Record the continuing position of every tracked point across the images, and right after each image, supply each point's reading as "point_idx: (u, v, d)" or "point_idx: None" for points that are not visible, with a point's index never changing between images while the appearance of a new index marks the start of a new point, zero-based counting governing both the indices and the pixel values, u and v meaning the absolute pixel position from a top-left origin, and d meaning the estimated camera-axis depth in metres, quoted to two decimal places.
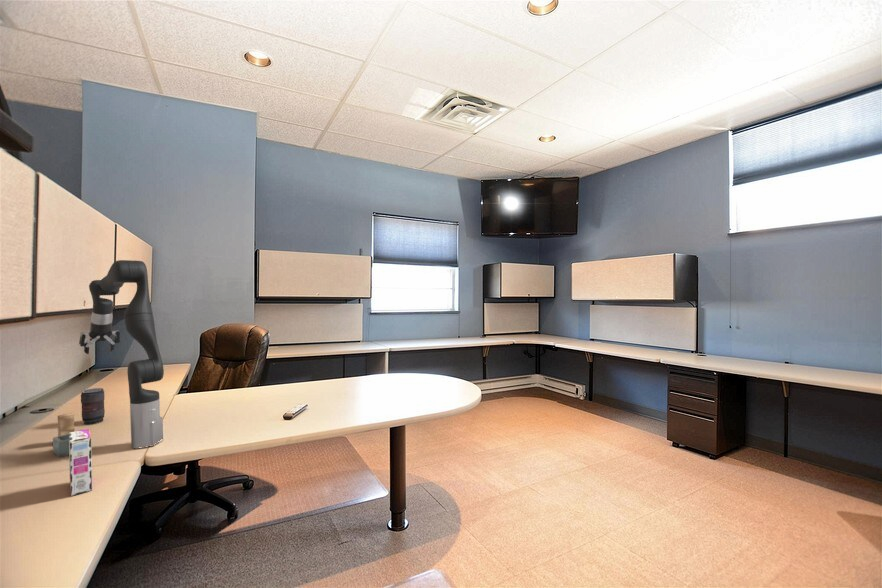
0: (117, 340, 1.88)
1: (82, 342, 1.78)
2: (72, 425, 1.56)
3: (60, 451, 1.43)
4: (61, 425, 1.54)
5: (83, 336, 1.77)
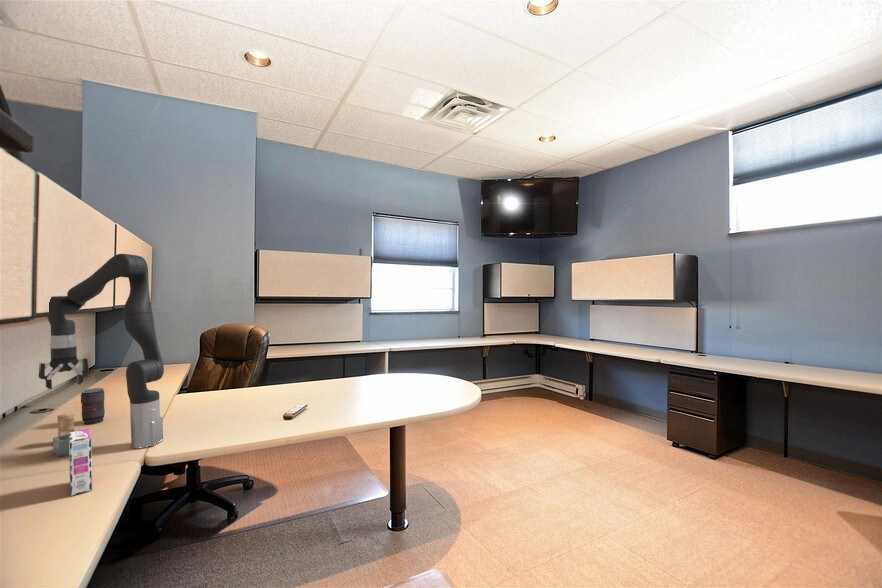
0: (86, 369, 1.60)
1: (42, 373, 1.50)
2: (72, 425, 1.56)
3: (60, 451, 1.43)
4: (61, 425, 1.54)
5: (42, 365, 1.50)
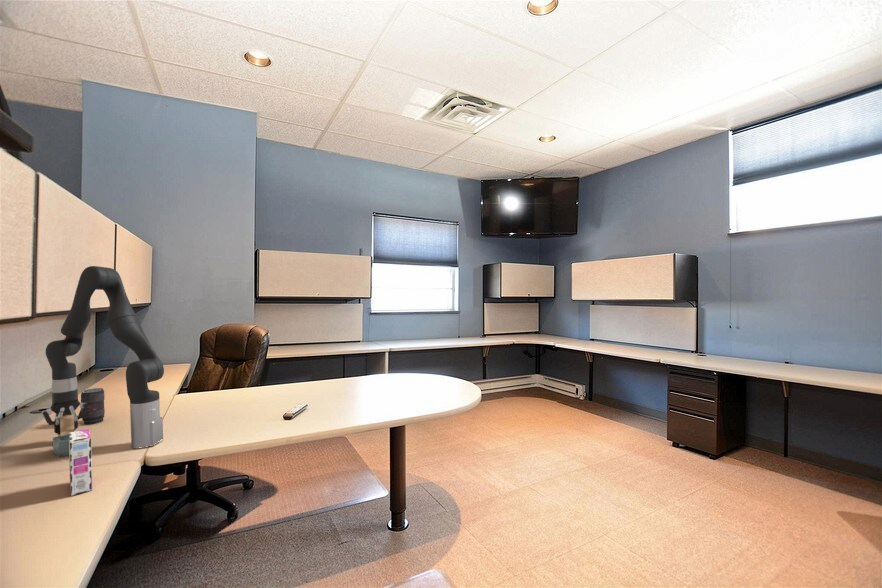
0: (80, 415, 1.59)
1: (48, 420, 1.51)
2: (72, 425, 1.56)
3: (60, 451, 1.43)
4: (61, 425, 1.54)
5: (45, 413, 1.50)
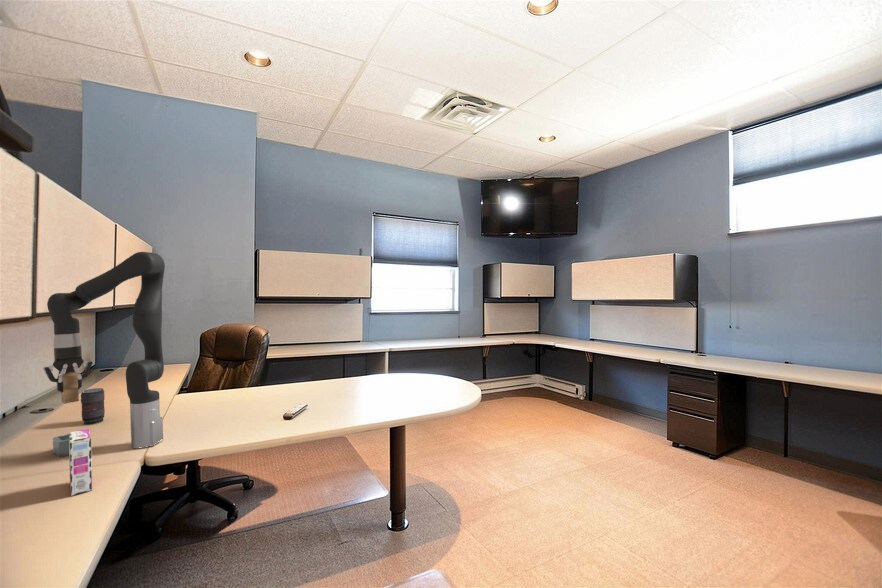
0: (84, 373, 1.51)
1: (51, 377, 1.43)
2: (76, 383, 1.48)
3: (60, 451, 1.43)
4: (64, 383, 1.45)
5: (47, 369, 1.42)
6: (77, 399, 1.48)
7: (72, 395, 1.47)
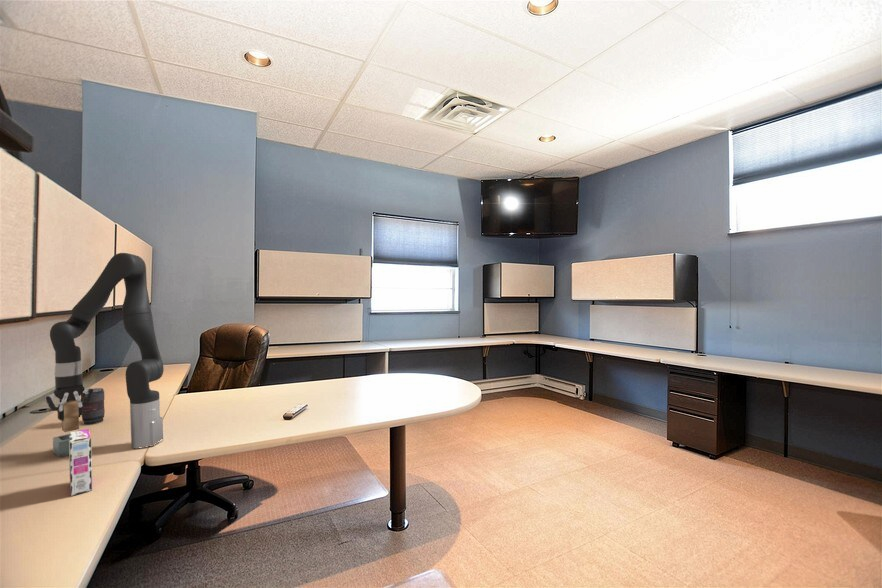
0: (85, 401, 1.51)
1: (52, 405, 1.43)
2: (76, 411, 1.48)
3: (60, 451, 1.43)
4: (65, 411, 1.45)
5: (48, 398, 1.42)
6: (77, 427, 1.48)
7: (73, 423, 1.47)
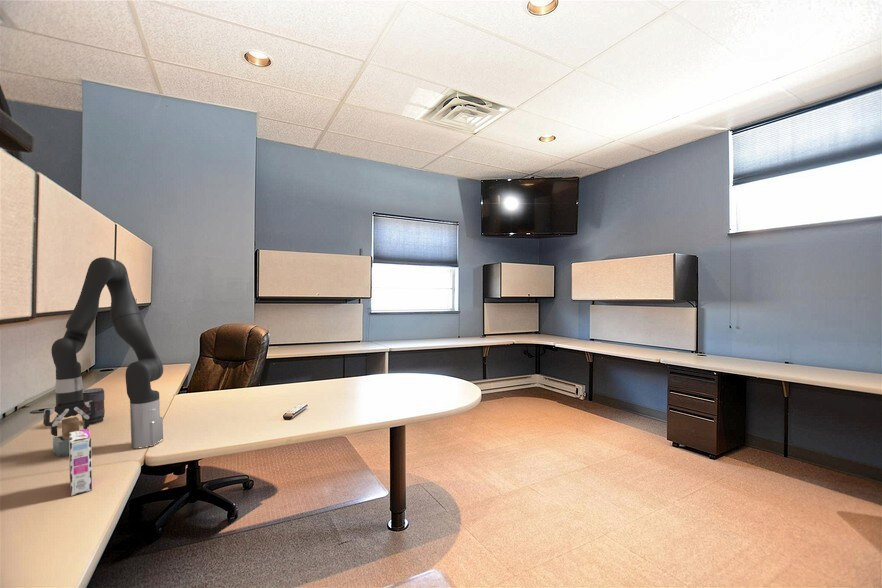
0: (92, 413, 1.52)
1: (47, 420, 1.42)
2: (77, 430, 1.48)
3: (60, 451, 1.43)
4: (65, 430, 1.45)
5: (47, 412, 1.42)
6: None
7: None
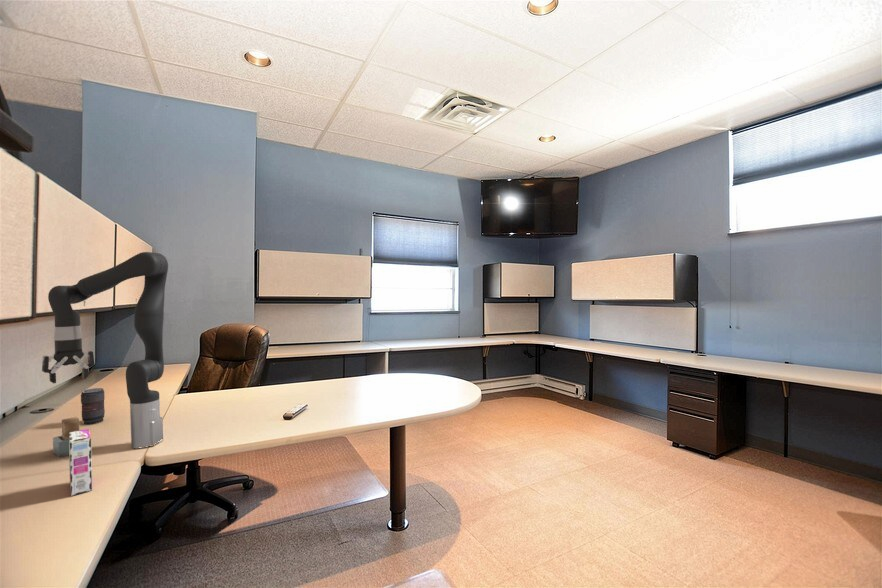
0: (91, 363, 1.53)
1: (45, 367, 1.42)
2: (77, 430, 1.48)
3: (60, 451, 1.43)
4: (65, 430, 1.45)
5: (46, 358, 1.42)
6: None
7: None
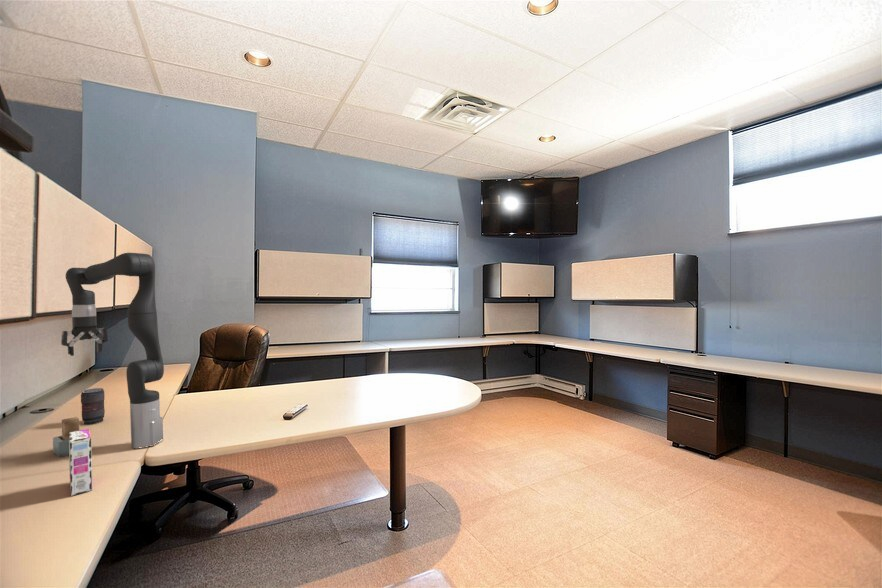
0: (105, 338, 1.68)
1: (64, 340, 1.58)
2: (77, 430, 1.48)
3: (60, 451, 1.43)
4: (65, 430, 1.45)
5: (65, 333, 1.58)
6: None
7: None
